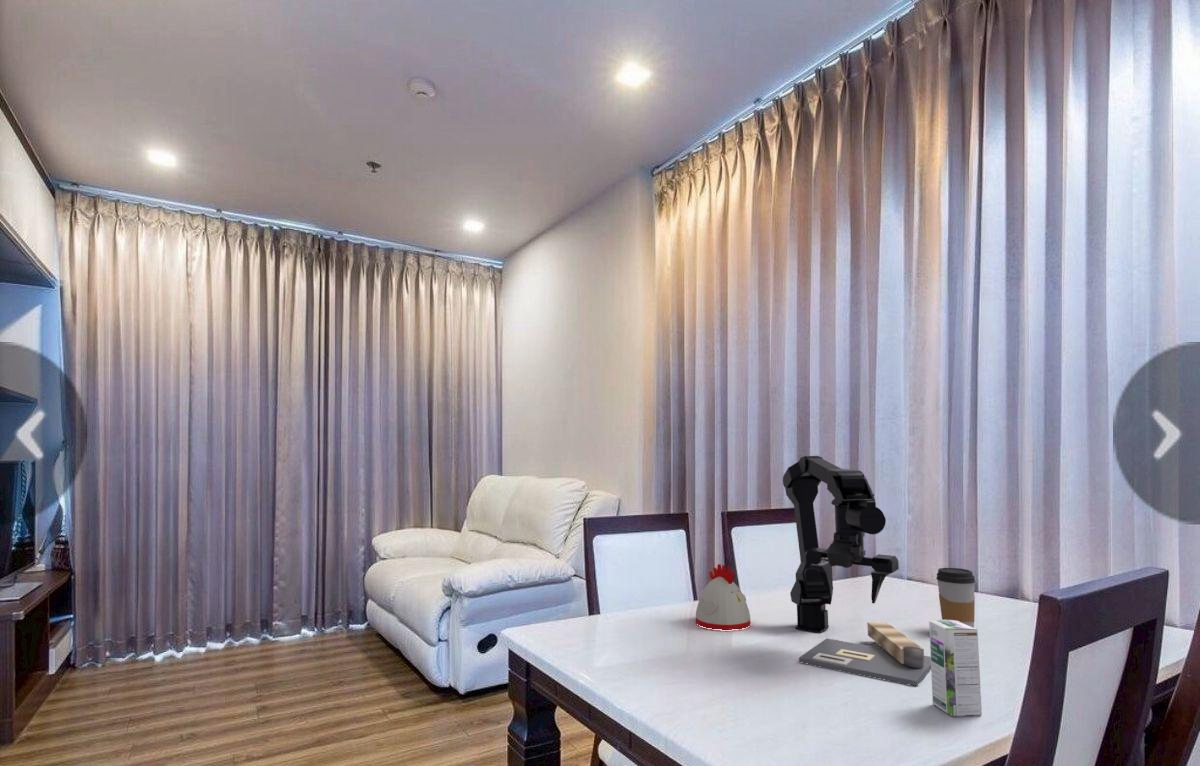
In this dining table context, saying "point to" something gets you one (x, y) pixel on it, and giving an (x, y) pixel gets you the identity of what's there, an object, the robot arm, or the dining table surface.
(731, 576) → the kitchen timer
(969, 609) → the coffee cup
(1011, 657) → the dining table surface
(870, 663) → the label panel
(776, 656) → the dining table surface
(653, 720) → the dining table surface
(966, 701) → the syrup box
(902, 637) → the swing arm
